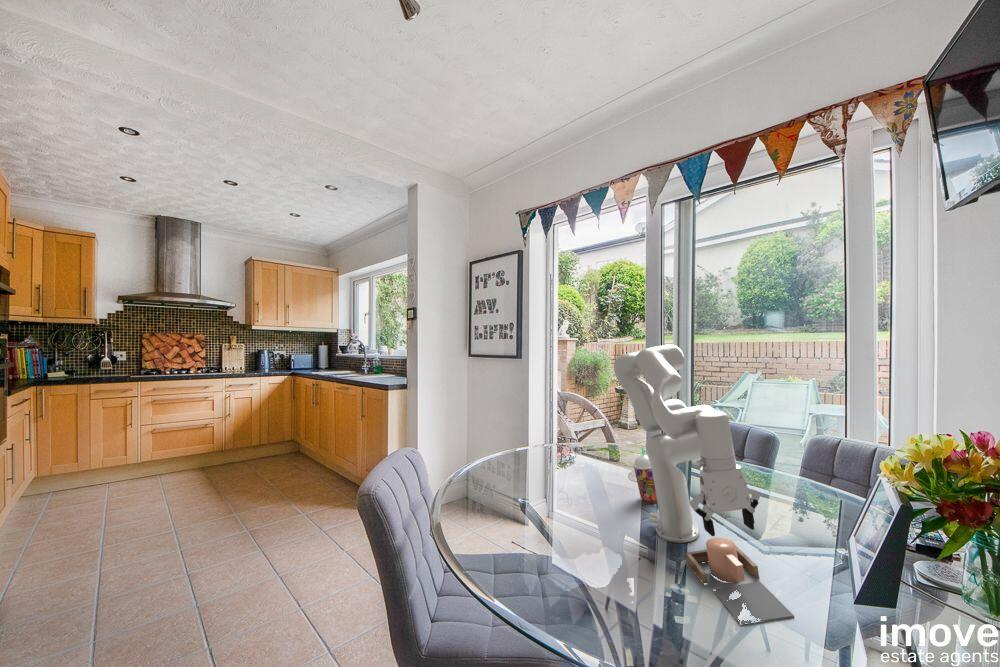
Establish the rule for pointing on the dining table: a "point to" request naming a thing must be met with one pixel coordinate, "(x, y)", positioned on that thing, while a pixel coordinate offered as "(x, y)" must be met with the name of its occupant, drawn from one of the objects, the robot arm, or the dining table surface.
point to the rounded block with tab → (724, 560)
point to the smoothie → (645, 478)
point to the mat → (753, 602)
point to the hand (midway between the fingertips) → (729, 530)
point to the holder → (702, 556)
